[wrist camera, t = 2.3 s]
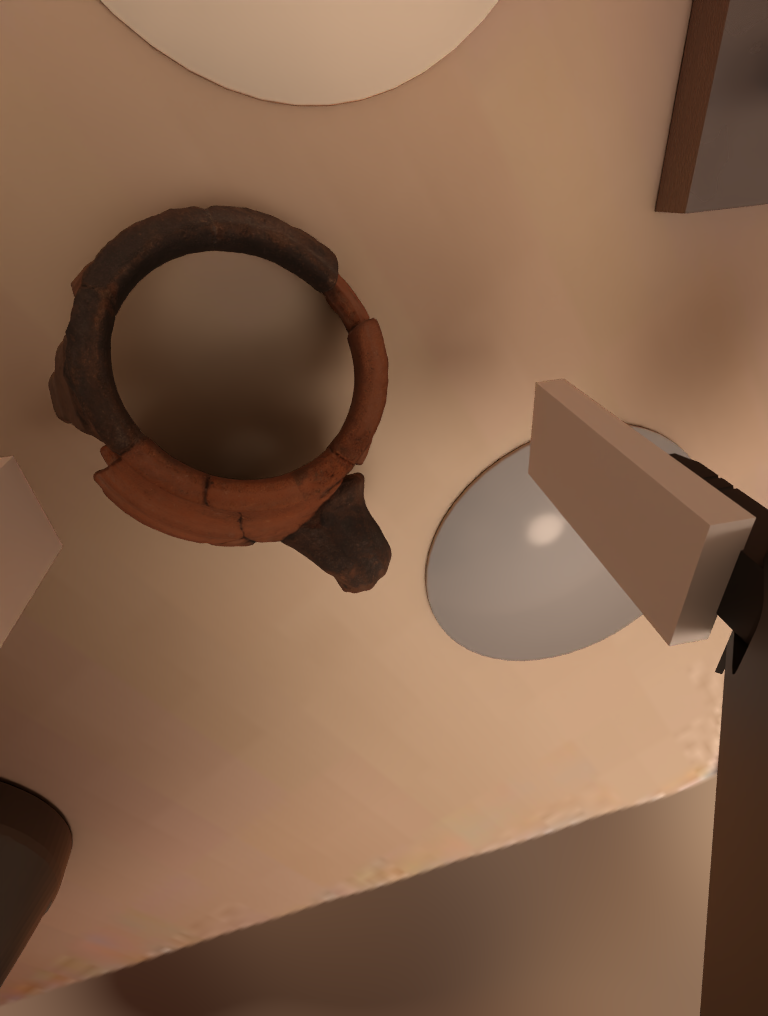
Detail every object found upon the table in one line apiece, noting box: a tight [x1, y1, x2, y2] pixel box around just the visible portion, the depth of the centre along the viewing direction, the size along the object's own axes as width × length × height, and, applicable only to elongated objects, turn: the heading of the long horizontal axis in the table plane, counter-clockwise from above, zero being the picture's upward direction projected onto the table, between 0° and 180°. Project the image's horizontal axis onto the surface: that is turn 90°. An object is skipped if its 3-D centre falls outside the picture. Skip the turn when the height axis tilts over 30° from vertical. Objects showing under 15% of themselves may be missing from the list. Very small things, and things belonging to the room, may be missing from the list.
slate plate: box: [426, 424, 690, 661], centre depth 25 cm, size 14×14×1 cm
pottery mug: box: [48, 206, 391, 593], centre depth 16 cm, size 12×10×8 cm
